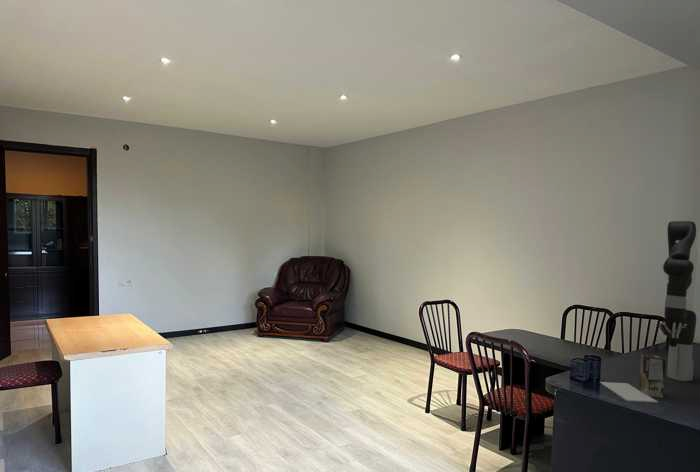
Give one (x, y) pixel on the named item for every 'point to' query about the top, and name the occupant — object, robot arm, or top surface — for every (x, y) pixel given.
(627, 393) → the mat
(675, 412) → the top surface
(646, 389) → the coffee box
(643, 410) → the top surface
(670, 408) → the top surface
